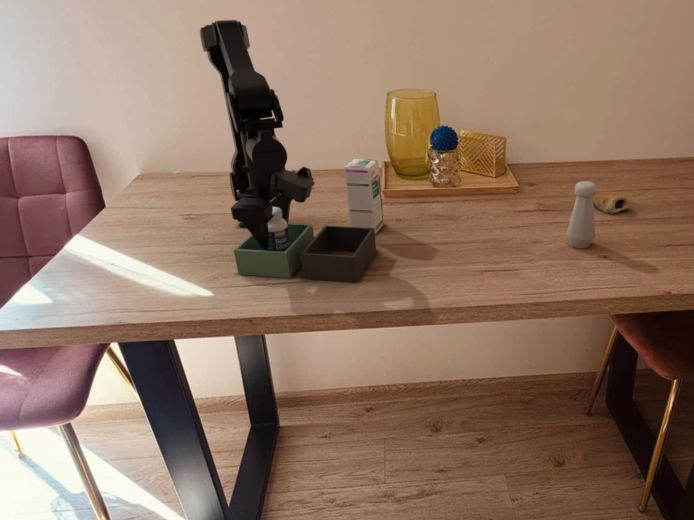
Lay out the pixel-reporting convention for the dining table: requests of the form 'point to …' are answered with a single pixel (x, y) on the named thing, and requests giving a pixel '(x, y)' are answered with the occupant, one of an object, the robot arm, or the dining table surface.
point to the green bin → (273, 254)
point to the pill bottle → (278, 232)
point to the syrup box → (364, 193)
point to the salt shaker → (582, 216)
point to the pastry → (610, 202)
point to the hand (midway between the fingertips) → (275, 239)
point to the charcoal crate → (338, 266)
